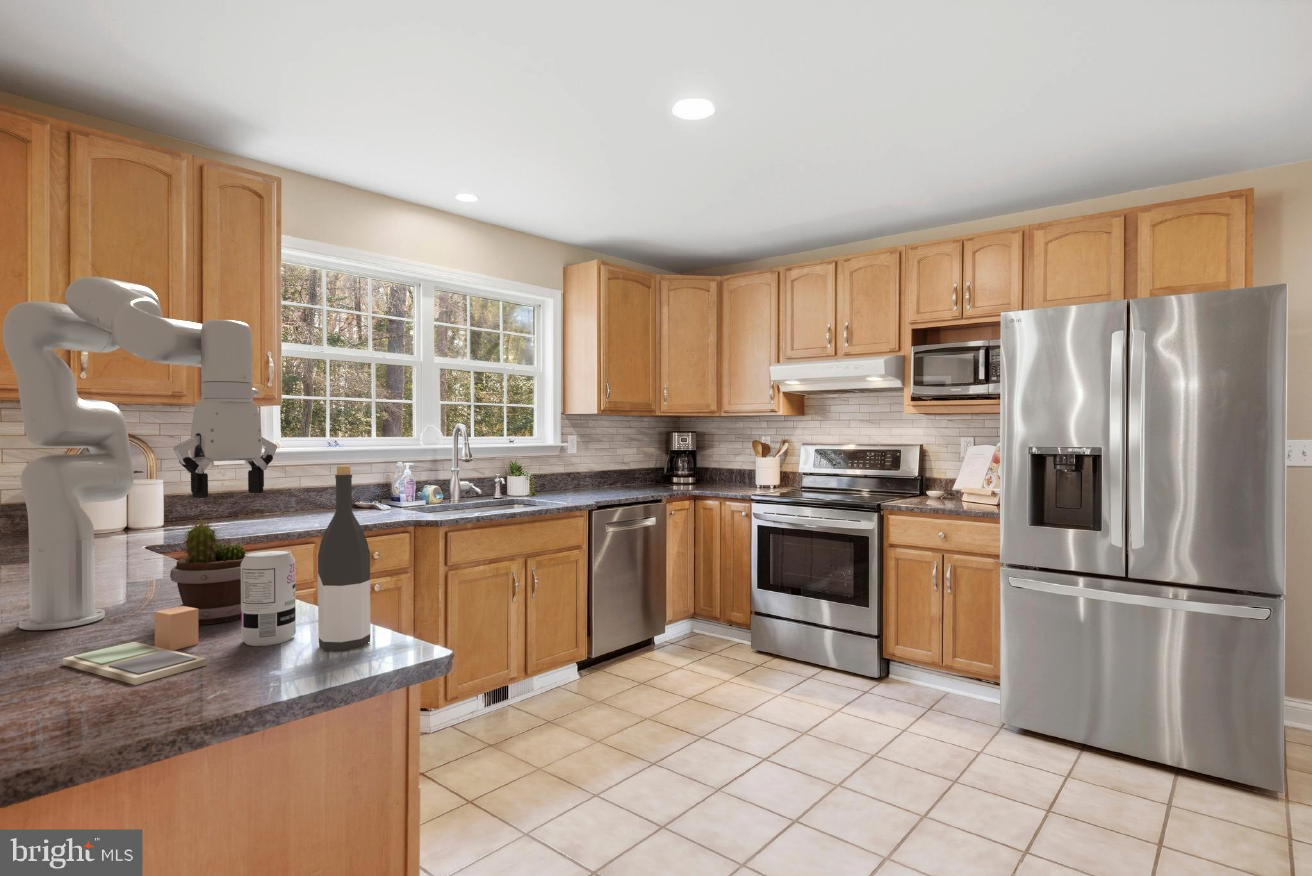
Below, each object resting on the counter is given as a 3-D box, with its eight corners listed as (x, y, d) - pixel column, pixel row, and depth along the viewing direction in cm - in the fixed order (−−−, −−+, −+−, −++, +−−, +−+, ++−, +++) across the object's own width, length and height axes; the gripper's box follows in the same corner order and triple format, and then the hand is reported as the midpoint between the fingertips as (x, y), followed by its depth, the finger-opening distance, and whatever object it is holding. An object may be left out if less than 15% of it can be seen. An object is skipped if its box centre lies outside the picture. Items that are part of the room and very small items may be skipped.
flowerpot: (221, 606, 150) (220, 509, 150) (278, 613, 145) (277, 512, 145) (151, 624, 136) (150, 517, 136) (210, 631, 131) (209, 520, 131)
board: (63, 664, 113) (62, 656, 113) (134, 647, 121) (134, 640, 121) (135, 685, 103) (135, 676, 103) (206, 664, 112) (206, 657, 112)
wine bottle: (368, 649, 120) (367, 466, 120) (314, 653, 118) (313, 467, 117) (372, 636, 128) (371, 464, 127) (322, 640, 125) (321, 465, 125)
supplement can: (234, 640, 125) (233, 553, 125) (285, 631, 131) (284, 547, 131) (251, 650, 120) (250, 558, 120) (303, 639, 126) (302, 552, 126)
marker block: (154, 647, 122) (154, 611, 122) (182, 640, 126) (182, 605, 126) (170, 651, 120) (170, 614, 120) (198, 644, 124) (198, 608, 124)
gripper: (260, 397, 133) (262, 491, 133) (160, 392, 118) (162, 498, 118) (288, 395, 130) (289, 492, 130) (188, 391, 114) (190, 500, 115)
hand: (229, 495), depth 124 cm, fingers open, 9 cm apart
